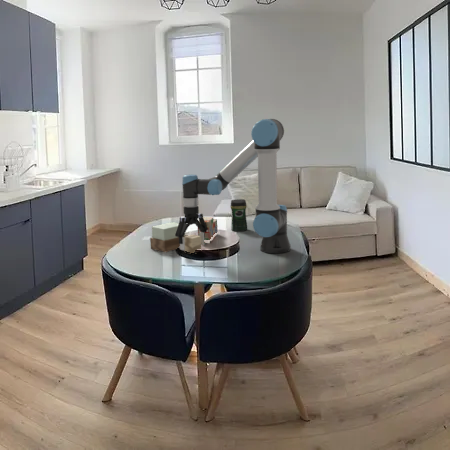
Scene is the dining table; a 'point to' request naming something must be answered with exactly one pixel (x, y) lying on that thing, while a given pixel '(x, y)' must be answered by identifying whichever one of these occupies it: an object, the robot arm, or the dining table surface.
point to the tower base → (165, 244)
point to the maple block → (192, 243)
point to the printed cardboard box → (209, 227)
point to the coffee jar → (238, 215)
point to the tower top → (165, 231)
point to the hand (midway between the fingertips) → (192, 247)
